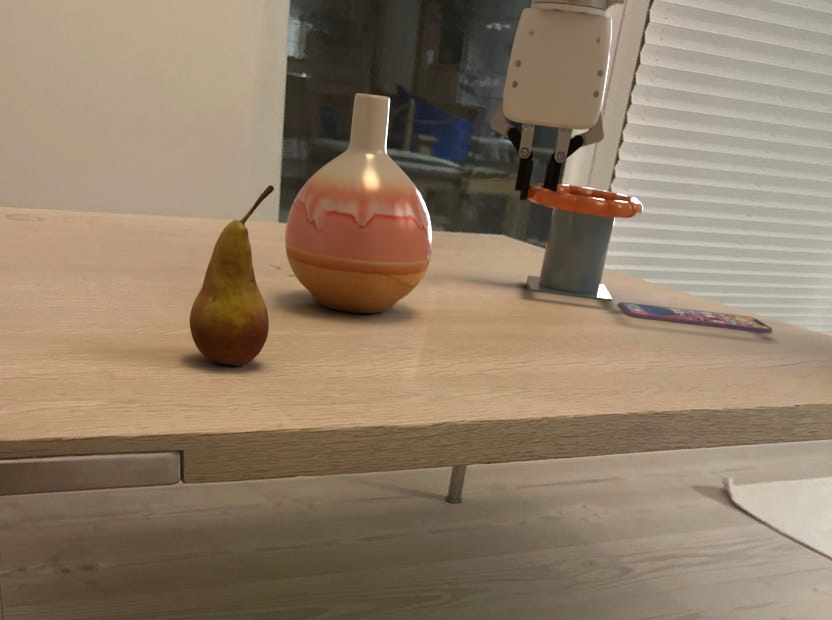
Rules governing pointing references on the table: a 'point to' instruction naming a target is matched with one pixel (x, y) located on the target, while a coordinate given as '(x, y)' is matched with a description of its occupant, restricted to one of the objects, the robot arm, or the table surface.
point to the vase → (360, 223)
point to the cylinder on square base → (574, 256)
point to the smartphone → (694, 317)
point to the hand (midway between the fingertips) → (533, 199)
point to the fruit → (231, 300)
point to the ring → (585, 201)
